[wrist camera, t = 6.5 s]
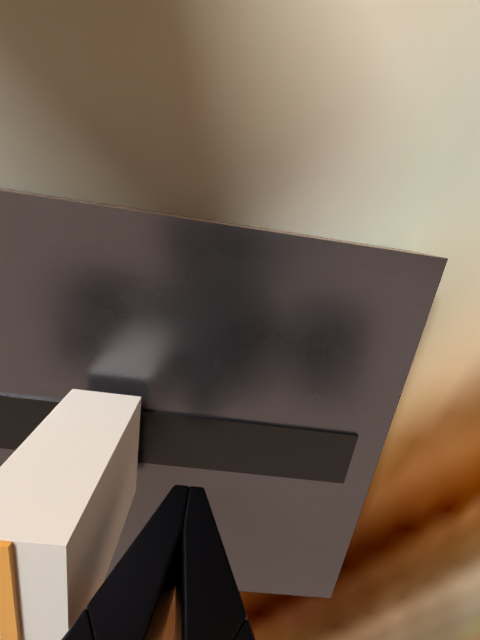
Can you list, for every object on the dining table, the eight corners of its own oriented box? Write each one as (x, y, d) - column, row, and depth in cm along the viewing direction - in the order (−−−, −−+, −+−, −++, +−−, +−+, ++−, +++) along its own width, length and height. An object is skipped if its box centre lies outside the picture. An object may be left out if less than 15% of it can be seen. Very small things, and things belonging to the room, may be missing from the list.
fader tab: (141, 396, 9) (63, 551, 5) (135, 490, 11) (67, 685, 6) (72, 389, 9) (-69, 540, 5) (74, 485, 10) (-41, 678, 6)
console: (409, 251, 11) (450, 259, 9) (318, 549, 15) (331, 601, 13) (-233, 152, 9) (-358, 136, 7) (-134, 510, 14) (-196, 560, 12)
